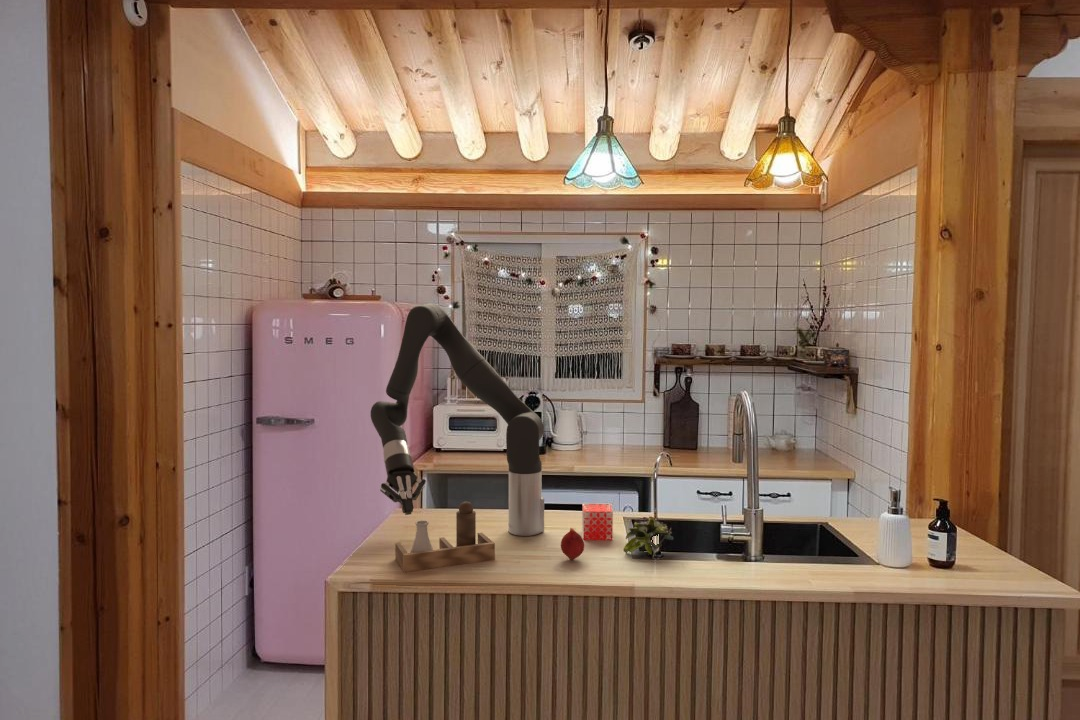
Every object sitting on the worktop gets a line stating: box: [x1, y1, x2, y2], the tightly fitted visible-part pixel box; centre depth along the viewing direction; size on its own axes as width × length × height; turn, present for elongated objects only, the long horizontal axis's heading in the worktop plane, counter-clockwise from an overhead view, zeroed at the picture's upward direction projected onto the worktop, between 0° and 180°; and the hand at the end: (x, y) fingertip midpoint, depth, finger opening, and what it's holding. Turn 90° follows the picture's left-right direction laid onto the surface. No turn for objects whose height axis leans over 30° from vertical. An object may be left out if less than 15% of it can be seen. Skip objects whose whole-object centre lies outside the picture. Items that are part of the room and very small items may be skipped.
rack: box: [394, 532, 496, 573], centre depth 173 cm, size 23×10×4 cm, turn 114°
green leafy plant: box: [623, 515, 674, 560], centre depth 177 cm, size 11×11×12 cm
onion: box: [560, 527, 585, 561], centre depth 172 cm, size 6×6×8 cm
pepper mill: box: [455, 500, 477, 547], centre depth 175 cm, size 5×5×14 cm
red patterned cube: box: [581, 503, 614, 541], centre depth 192 cm, size 8×8×8 cm
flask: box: [409, 520, 434, 553], centre depth 170 cm, size 7×7×10 cm
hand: (408, 513), depth 187 cm, fingers closed
